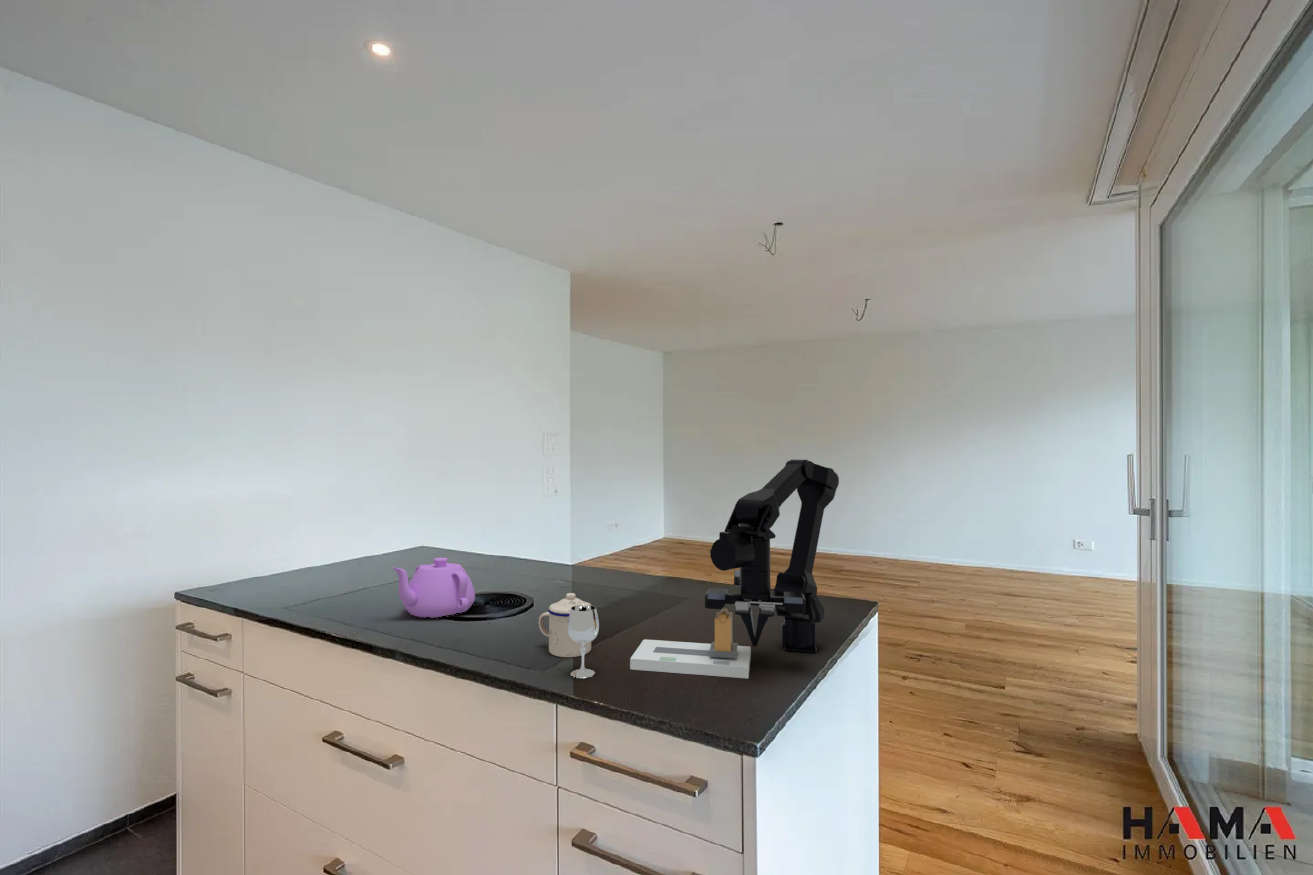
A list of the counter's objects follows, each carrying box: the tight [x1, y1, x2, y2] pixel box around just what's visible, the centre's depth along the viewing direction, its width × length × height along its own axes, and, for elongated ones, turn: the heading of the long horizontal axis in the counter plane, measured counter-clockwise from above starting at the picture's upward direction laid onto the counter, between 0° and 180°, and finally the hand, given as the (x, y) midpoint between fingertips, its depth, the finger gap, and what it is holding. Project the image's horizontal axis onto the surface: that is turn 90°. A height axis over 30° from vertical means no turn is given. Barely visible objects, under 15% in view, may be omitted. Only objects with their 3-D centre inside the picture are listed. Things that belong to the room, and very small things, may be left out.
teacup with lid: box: [538, 592, 592, 658], centre depth 121 cm, size 12×9×12 cm
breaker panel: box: [629, 639, 752, 679], centre depth 114 cm, size 22×12×2 cm, turn 79°
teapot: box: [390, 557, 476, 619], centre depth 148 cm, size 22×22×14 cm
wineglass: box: [568, 604, 600, 679], centre depth 108 cm, size 6×6×12 cm
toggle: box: [709, 607, 739, 658], centre depth 113 cm, size 5×6×8 cm
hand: (754, 645), depth 112 cm, fingers closed
